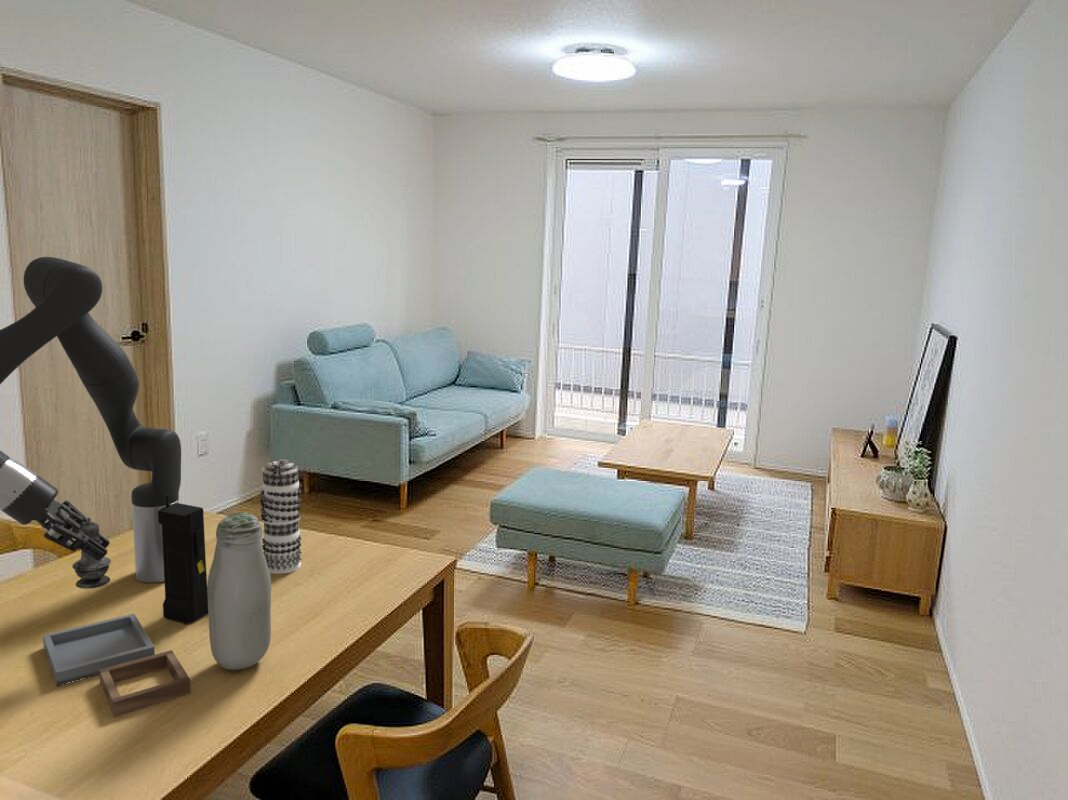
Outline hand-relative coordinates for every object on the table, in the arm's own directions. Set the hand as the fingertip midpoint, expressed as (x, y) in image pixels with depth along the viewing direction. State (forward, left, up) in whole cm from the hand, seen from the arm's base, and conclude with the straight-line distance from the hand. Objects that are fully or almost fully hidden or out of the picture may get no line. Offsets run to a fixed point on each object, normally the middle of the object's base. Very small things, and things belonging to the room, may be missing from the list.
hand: (104, 551), depth 135 cm
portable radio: (-7, +15, -20) cm, 26 cm away
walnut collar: (+15, +2, -19) cm, 25 cm away
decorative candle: (-20, +39, -20) cm, 48 cm away
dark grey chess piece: (-1, -2, -6) cm, 6 cm away
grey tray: (-1, -2, -19) cm, 19 cm away
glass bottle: (+17, +18, -20) cm, 31 cm away
